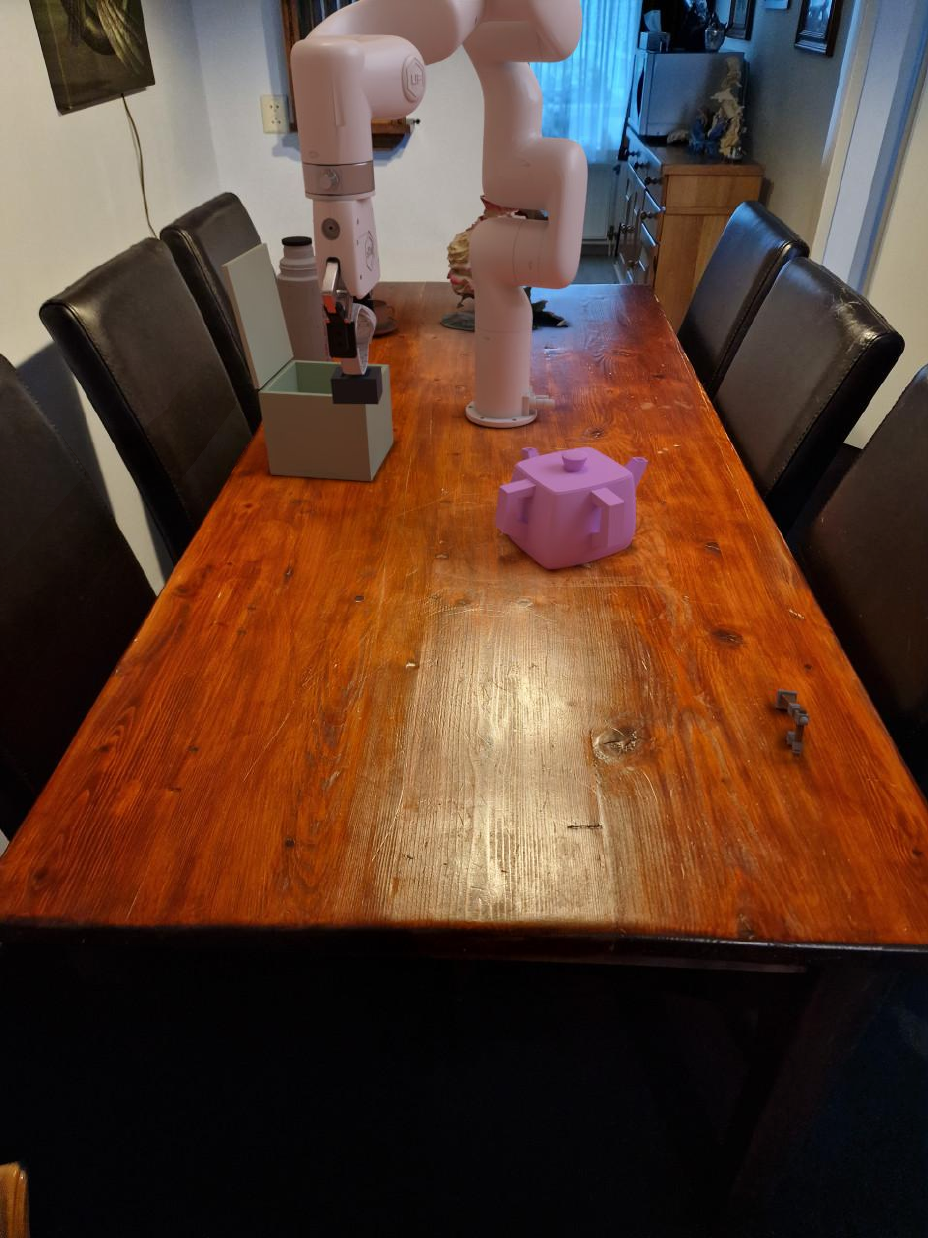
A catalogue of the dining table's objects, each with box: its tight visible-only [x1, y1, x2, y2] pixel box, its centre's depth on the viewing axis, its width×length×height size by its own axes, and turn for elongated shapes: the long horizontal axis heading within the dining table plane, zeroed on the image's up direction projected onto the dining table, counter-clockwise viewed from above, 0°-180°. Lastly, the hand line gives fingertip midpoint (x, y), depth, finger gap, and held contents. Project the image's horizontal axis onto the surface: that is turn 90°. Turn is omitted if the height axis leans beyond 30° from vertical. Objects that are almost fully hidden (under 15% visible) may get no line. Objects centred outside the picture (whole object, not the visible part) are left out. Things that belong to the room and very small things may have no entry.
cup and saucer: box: [373, 299, 399, 336], centre depth 184 cm, size 12×12×6 cm
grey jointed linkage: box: [774, 689, 810, 758], centre depth 77 cm, size 2×8×4 cm, turn 169°
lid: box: [221, 242, 293, 390], centre depth 118 cm, size 17×15×1 cm
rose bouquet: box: [440, 194, 569, 332], centre depth 183 cm, size 26×29×30 cm
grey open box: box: [257, 360, 394, 482], centre depth 125 cm, size 16×15×13 cm
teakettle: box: [494, 446, 649, 570], centre depth 104 cm, size 17×17×12 cm
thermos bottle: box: [276, 235, 335, 364], centre depth 140 cm, size 8×8×28 cm
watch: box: [331, 303, 383, 404], centre depth 98 cm, size 6×8×11 cm
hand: (353, 344), depth 97 cm, fingers closed on watch, 8 cm apart
